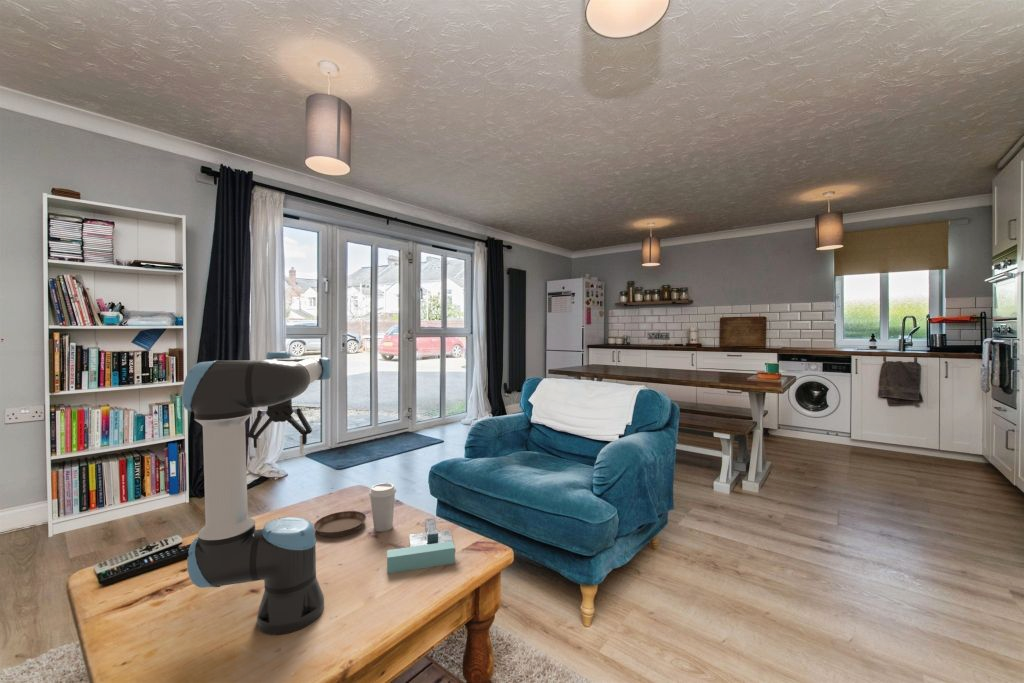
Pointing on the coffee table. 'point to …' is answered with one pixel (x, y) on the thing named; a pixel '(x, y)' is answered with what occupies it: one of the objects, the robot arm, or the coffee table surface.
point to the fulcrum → (430, 535)
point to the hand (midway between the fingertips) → (281, 455)
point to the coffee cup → (382, 505)
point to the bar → (420, 556)
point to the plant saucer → (340, 523)
